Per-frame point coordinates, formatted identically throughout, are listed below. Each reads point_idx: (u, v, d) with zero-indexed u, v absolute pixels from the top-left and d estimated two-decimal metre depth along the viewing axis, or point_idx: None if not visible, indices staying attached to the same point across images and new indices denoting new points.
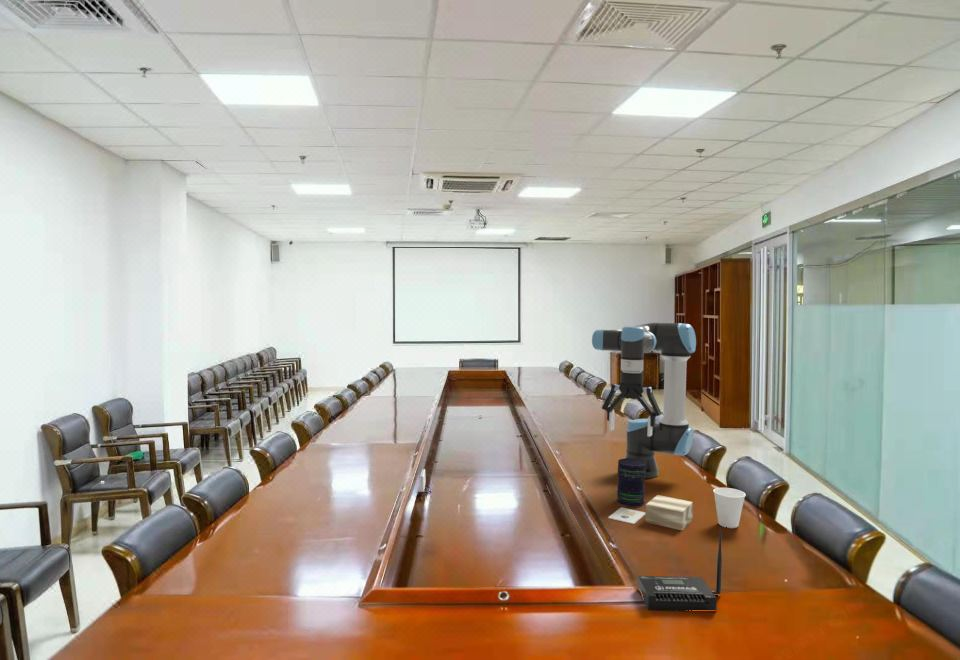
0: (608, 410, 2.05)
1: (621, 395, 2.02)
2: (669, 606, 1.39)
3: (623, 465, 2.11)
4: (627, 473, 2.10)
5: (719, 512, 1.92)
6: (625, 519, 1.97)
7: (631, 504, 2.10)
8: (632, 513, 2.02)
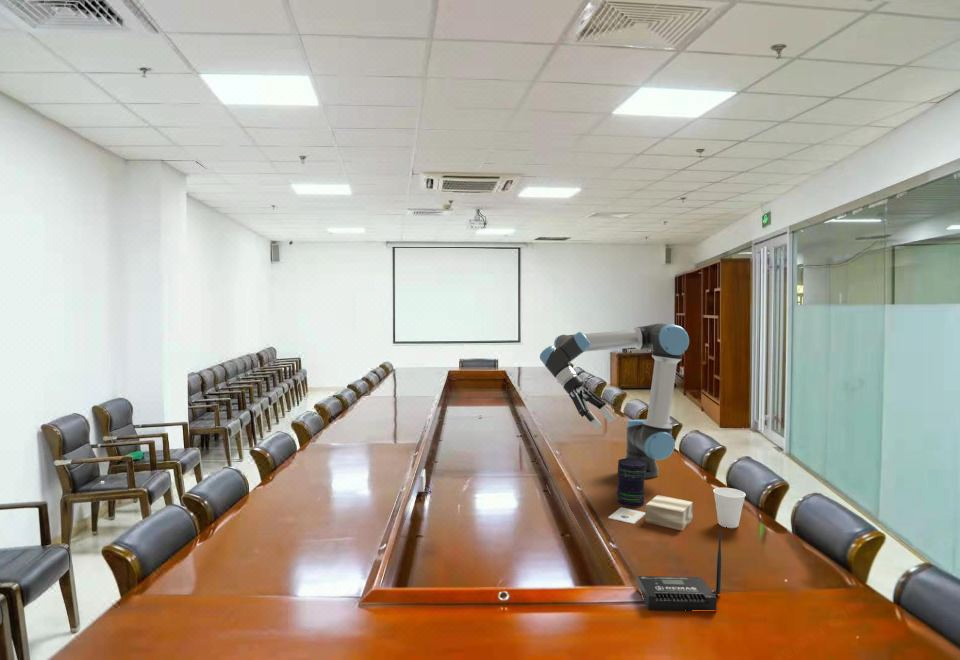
0: None
1: None
2: (669, 606, 1.39)
3: (623, 465, 2.11)
4: (627, 473, 2.10)
5: (719, 512, 1.92)
6: (625, 519, 1.97)
7: (631, 504, 2.10)
8: (632, 513, 2.02)
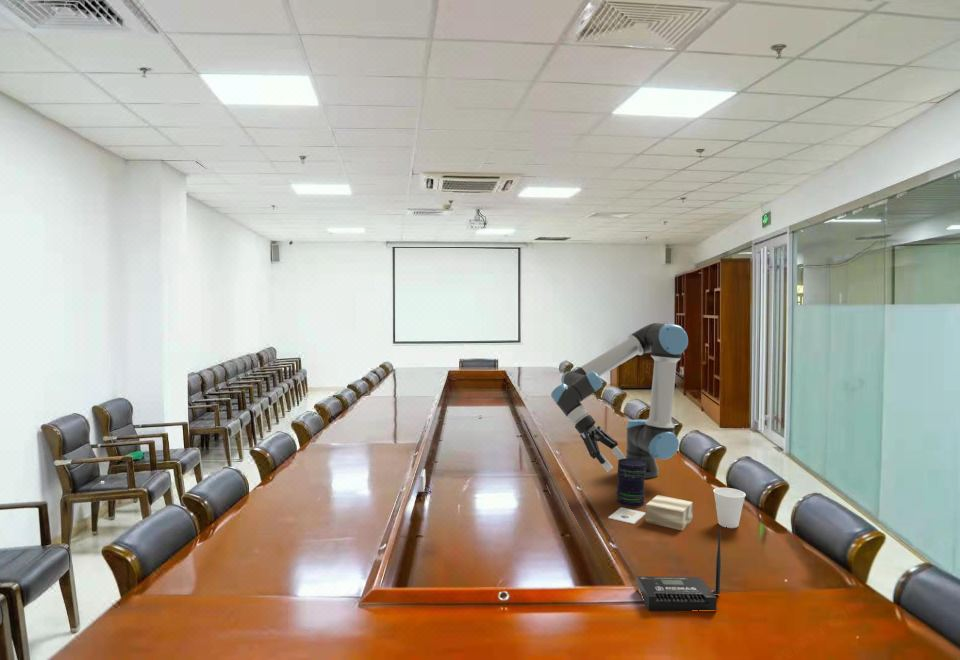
0: None
1: None
2: (669, 607, 1.39)
3: (623, 465, 2.11)
4: (627, 473, 2.10)
5: (719, 512, 1.92)
6: (625, 519, 1.97)
7: (631, 504, 2.10)
8: (632, 513, 2.02)
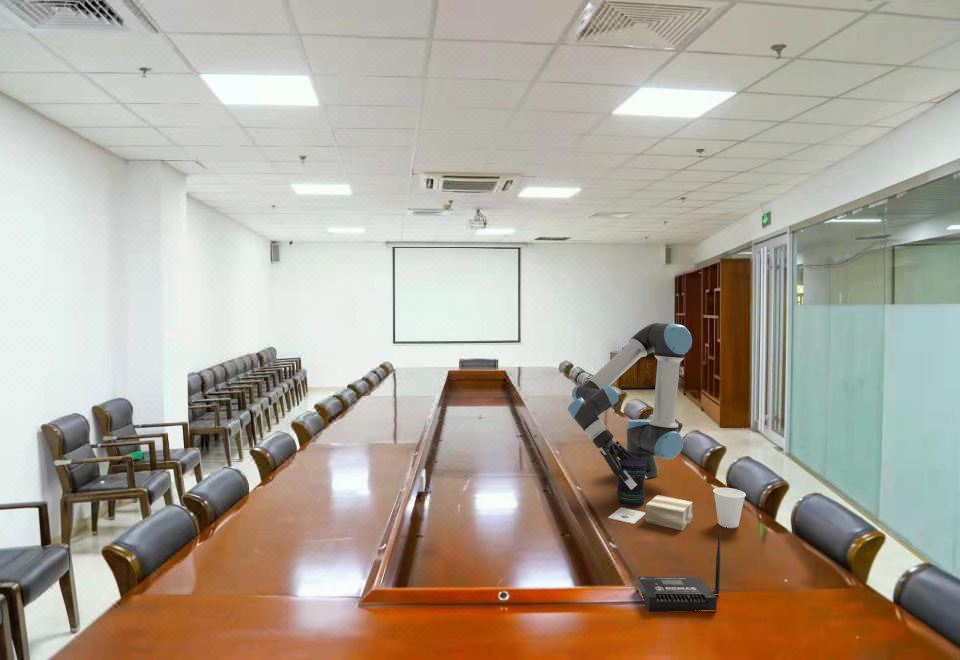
0: None
1: None
2: (670, 607, 1.39)
3: (623, 465, 2.11)
4: None
5: (719, 512, 1.92)
6: (625, 519, 1.97)
7: (631, 504, 2.10)
8: (632, 513, 2.02)
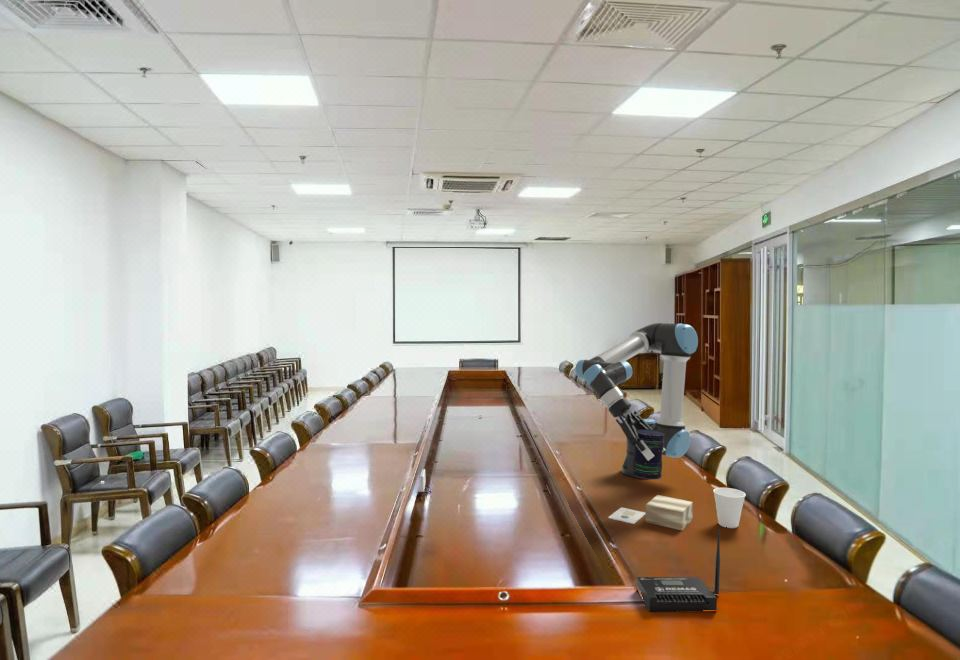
0: None
1: None
2: (670, 607, 1.39)
3: (640, 435, 1.99)
4: None
5: (719, 512, 1.92)
6: (625, 519, 1.97)
7: (648, 476, 1.98)
8: (632, 513, 2.02)
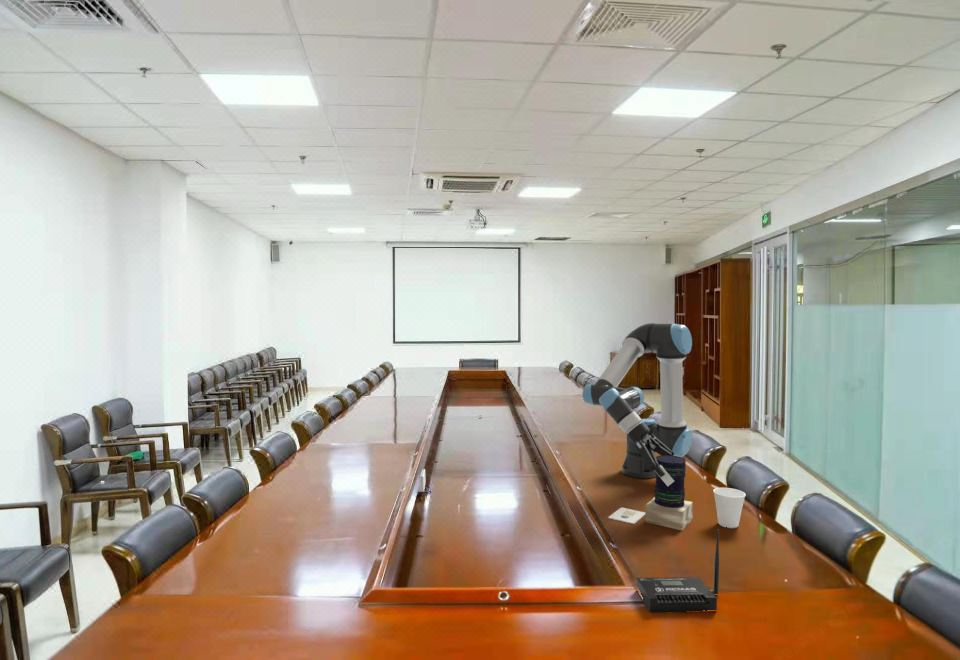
0: None
1: None
2: (670, 608, 1.38)
3: (662, 462, 1.93)
4: (666, 471, 1.92)
5: (719, 512, 1.92)
6: (625, 519, 1.97)
7: (671, 505, 1.92)
8: (632, 513, 2.02)
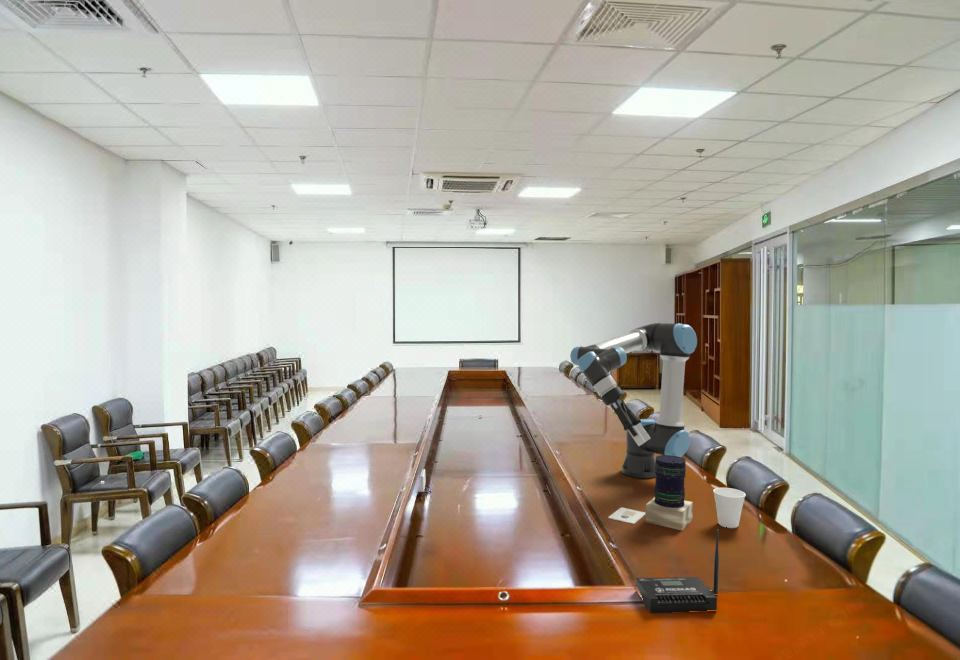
0: (633, 425, 2.12)
1: None
2: (671, 608, 1.38)
3: (662, 462, 1.93)
4: (666, 471, 1.92)
5: (719, 512, 1.92)
6: (625, 519, 1.97)
7: (671, 505, 1.92)
8: (632, 513, 2.02)
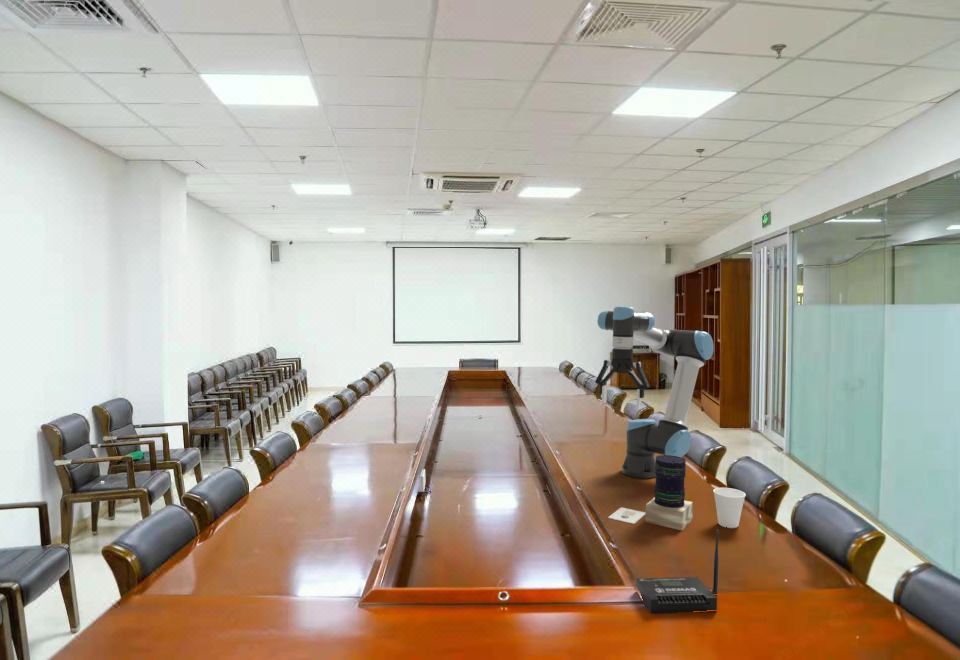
0: (601, 384, 2.23)
1: (613, 370, 2.19)
2: (671, 609, 1.38)
3: (662, 462, 1.93)
4: (666, 471, 1.92)
5: (719, 512, 1.92)
6: (625, 519, 1.97)
7: (671, 505, 1.92)
8: (632, 513, 2.02)
